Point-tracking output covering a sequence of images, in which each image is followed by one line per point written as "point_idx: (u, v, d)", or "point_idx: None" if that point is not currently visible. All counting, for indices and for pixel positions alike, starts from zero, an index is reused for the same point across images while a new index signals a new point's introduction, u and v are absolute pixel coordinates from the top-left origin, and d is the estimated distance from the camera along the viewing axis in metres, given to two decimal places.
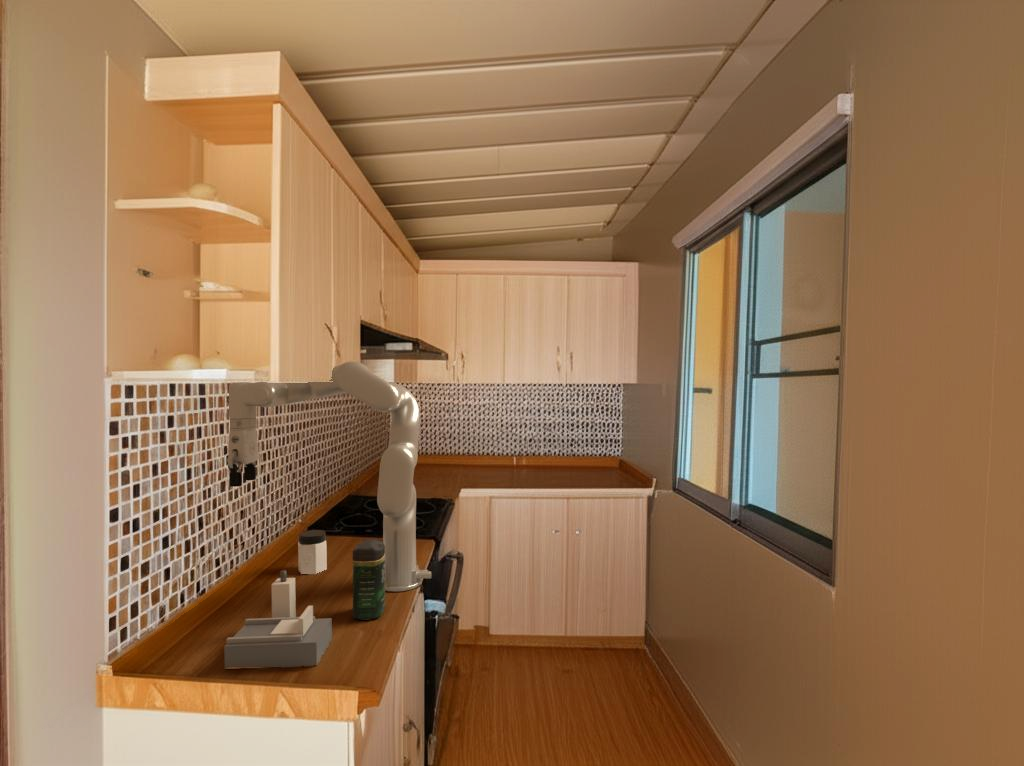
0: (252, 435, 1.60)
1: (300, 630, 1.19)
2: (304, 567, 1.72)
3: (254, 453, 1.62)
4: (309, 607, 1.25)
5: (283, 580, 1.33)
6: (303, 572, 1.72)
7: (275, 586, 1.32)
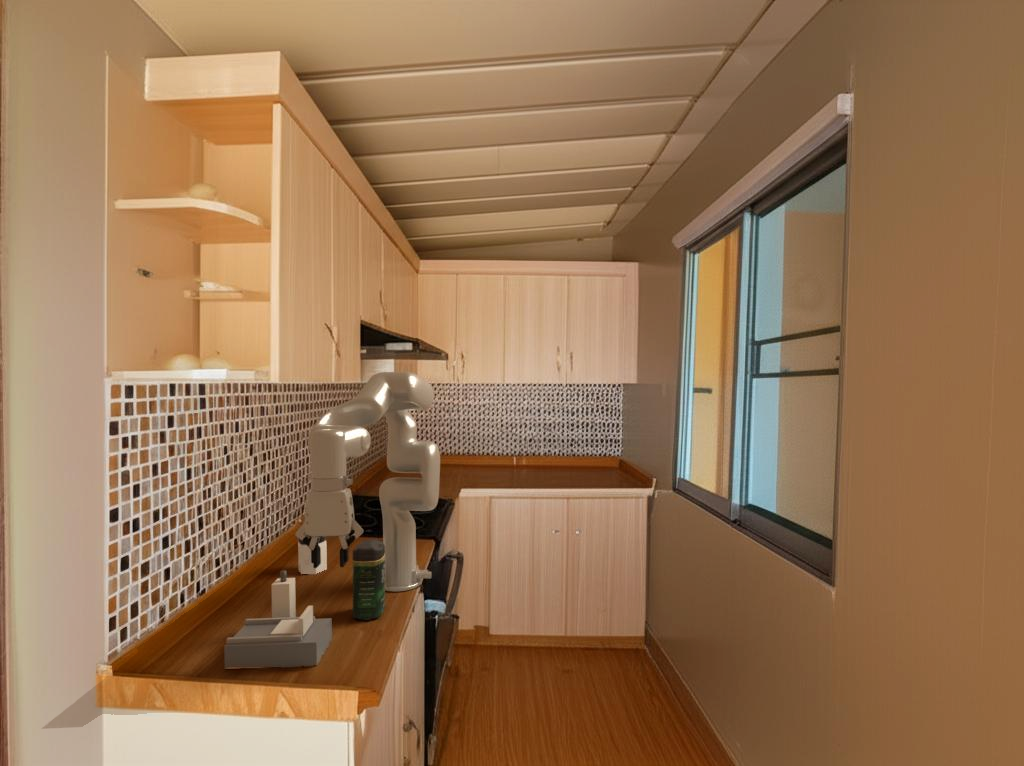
0: None
1: (300, 630, 1.19)
2: (304, 567, 1.72)
3: None
4: (309, 607, 1.25)
5: (283, 580, 1.33)
6: (303, 572, 1.72)
7: (275, 586, 1.32)
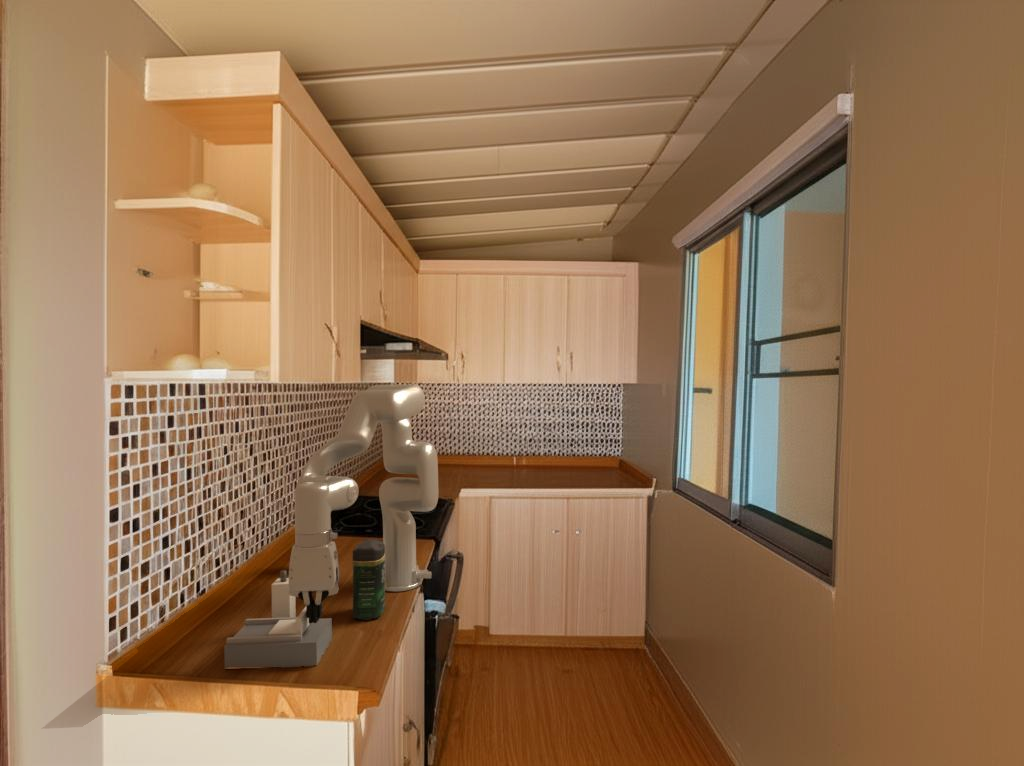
0: None
1: (298, 630, 1.19)
2: None
3: None
4: None
5: (283, 580, 1.33)
6: None
7: (275, 586, 1.32)
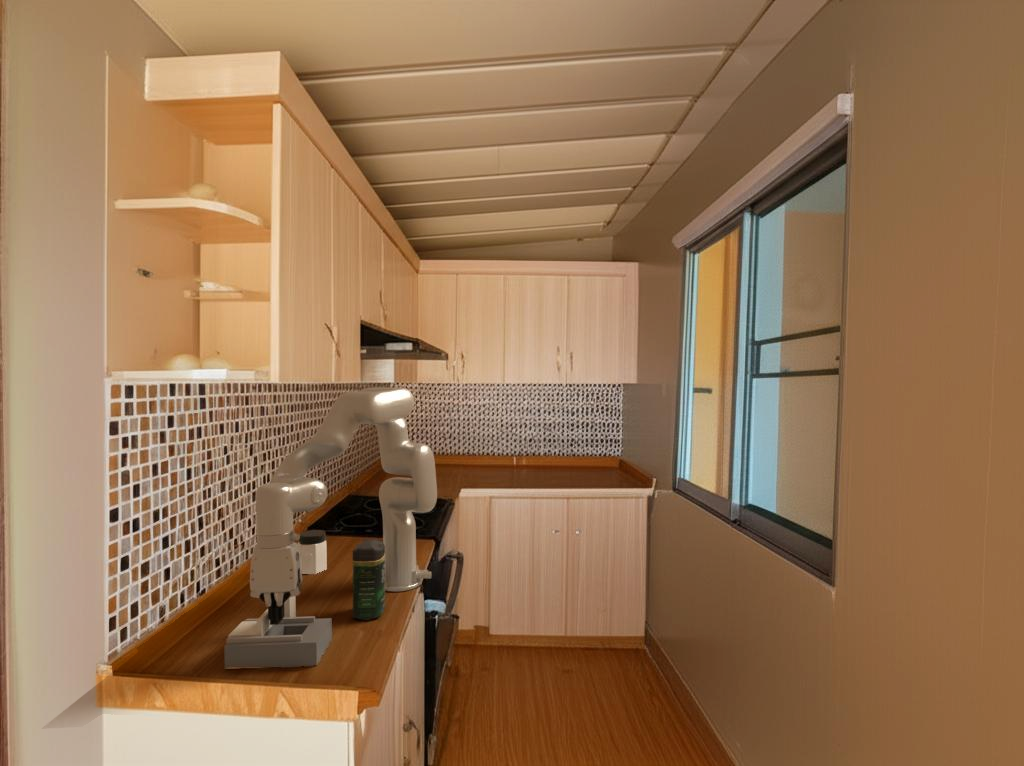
0: None
1: (258, 632, 1.18)
2: (304, 567, 1.72)
3: None
4: None
5: None
6: (303, 572, 1.72)
7: None
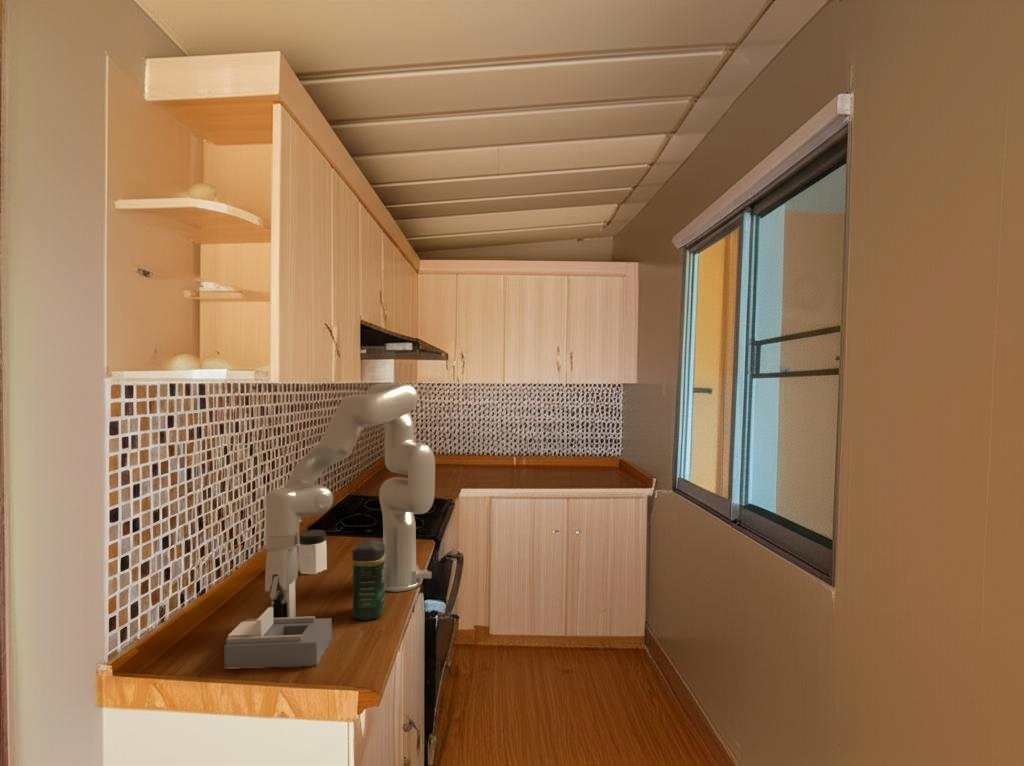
0: None
1: (258, 632, 1.18)
2: (304, 567, 1.72)
3: None
4: (269, 609, 1.24)
5: None
6: (303, 572, 1.72)
7: None
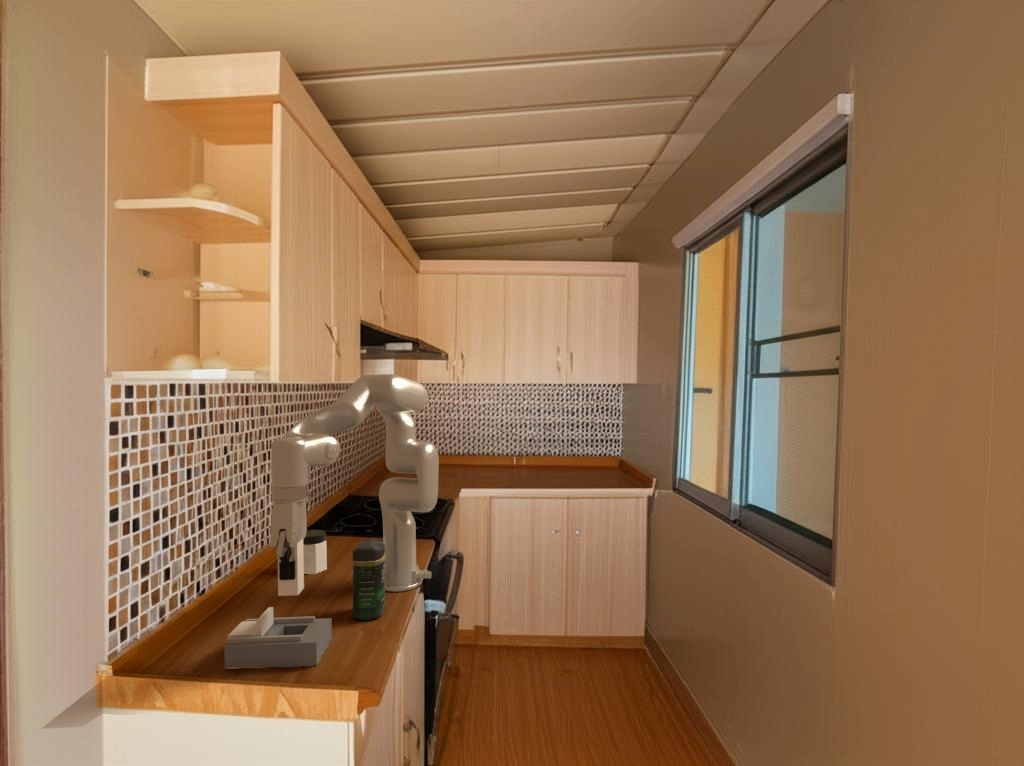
0: None
1: (258, 632, 1.18)
2: (304, 567, 1.72)
3: None
4: (269, 609, 1.24)
5: None
6: None
7: None
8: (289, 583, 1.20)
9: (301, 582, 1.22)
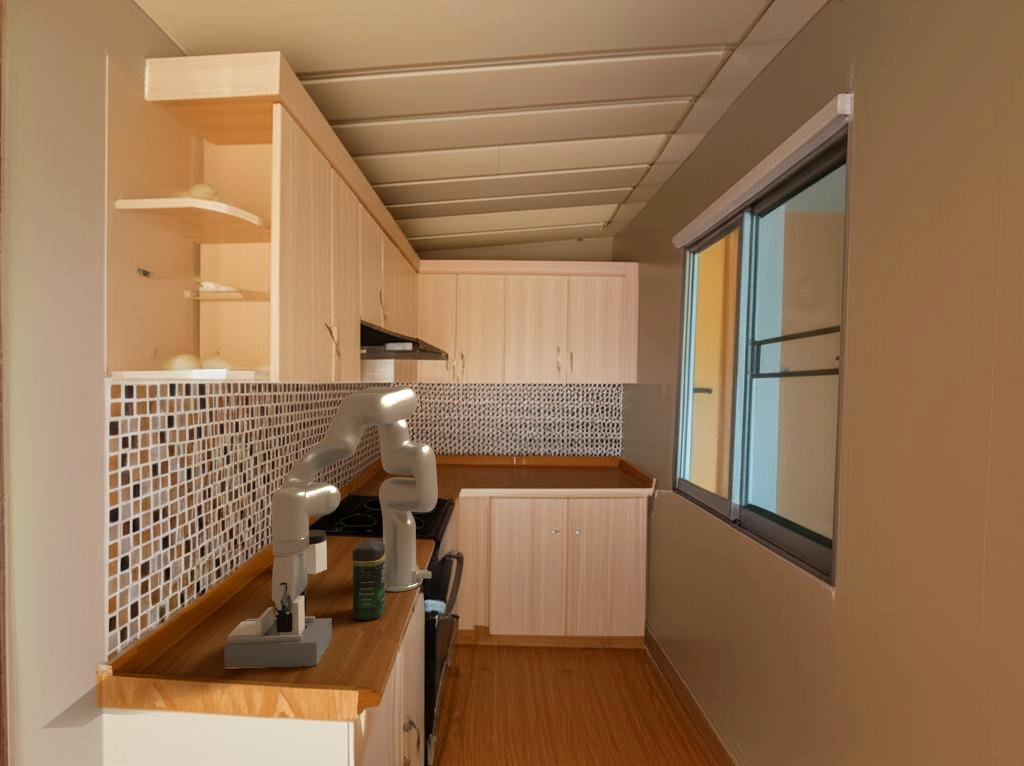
0: None
1: (258, 632, 1.18)
2: None
3: None
4: (269, 609, 1.24)
5: None
6: None
7: None
8: None
9: None
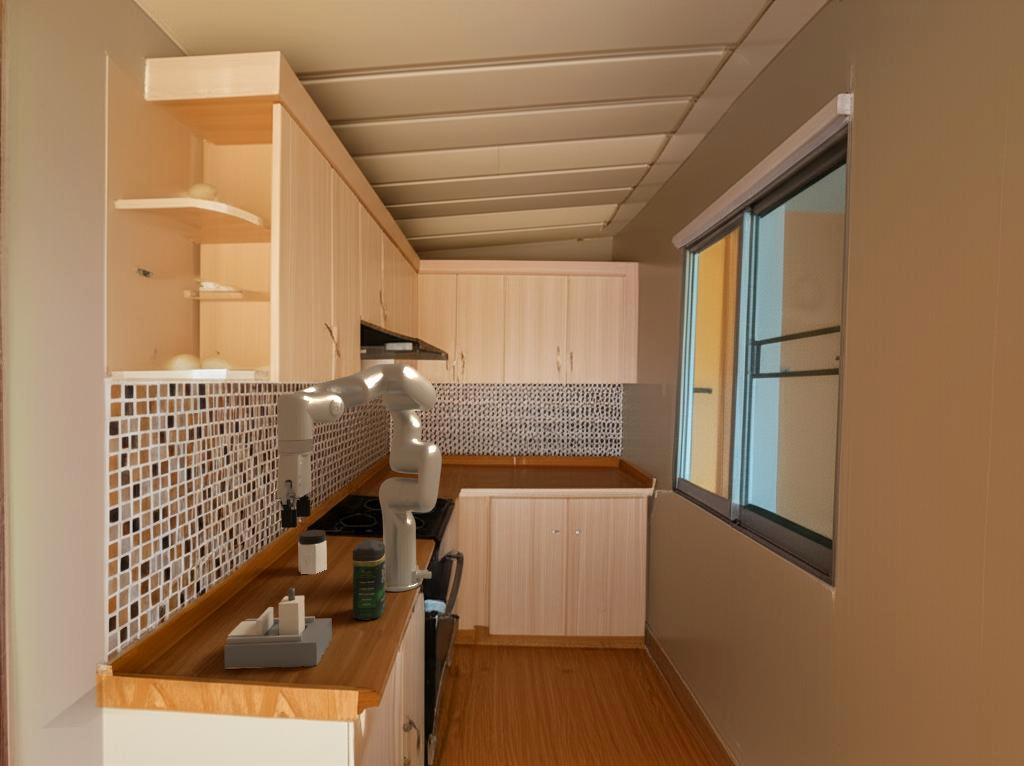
0: None
1: (258, 632, 1.18)
2: (304, 567, 1.72)
3: None
4: (269, 609, 1.24)
5: (291, 599, 1.21)
6: (303, 572, 1.72)
7: (282, 606, 1.20)
8: None
9: None
